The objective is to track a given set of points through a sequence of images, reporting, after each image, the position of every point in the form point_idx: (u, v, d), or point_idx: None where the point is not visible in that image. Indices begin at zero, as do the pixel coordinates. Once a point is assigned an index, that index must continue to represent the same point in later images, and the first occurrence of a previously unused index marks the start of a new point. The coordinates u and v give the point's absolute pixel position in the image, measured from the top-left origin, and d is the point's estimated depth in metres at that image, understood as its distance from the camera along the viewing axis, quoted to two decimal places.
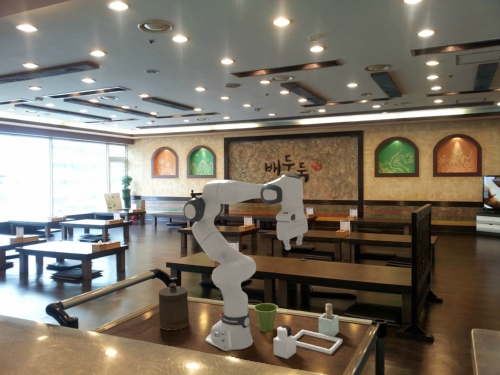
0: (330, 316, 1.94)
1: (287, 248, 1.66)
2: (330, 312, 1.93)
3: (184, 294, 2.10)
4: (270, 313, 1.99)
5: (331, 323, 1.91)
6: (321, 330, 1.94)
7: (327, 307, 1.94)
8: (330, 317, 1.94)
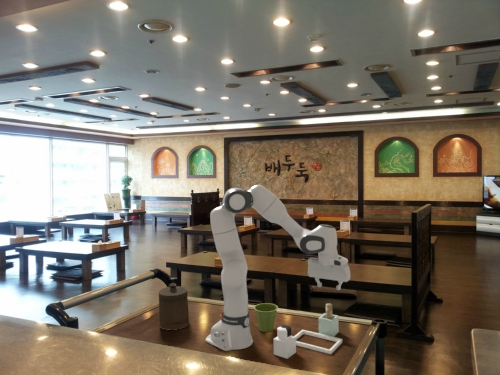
0: (330, 316, 1.94)
1: (340, 288, 1.91)
2: (330, 312, 1.93)
3: (184, 294, 2.10)
4: (270, 313, 1.99)
5: (331, 323, 1.91)
6: (321, 330, 1.94)
7: (327, 307, 1.94)
8: (330, 317, 1.94)
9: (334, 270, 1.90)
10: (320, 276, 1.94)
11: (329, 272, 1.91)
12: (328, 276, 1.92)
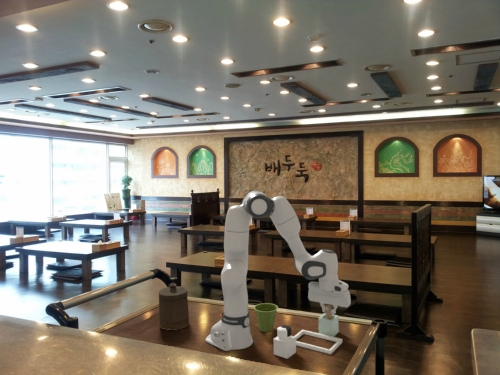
0: (330, 316, 1.94)
1: (335, 312, 1.93)
2: (330, 312, 1.94)
3: (184, 294, 2.10)
4: (270, 313, 1.99)
5: (331, 323, 1.91)
6: (321, 330, 1.94)
7: (327, 307, 1.94)
8: (330, 317, 1.94)
9: (334, 295, 1.91)
10: (320, 301, 1.95)
11: (329, 297, 1.92)
12: (328, 301, 1.92)
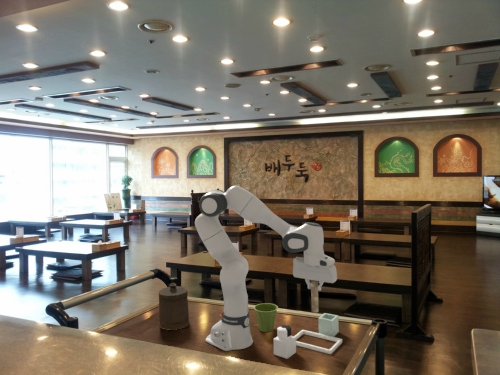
0: (315, 293, 1.83)
1: (320, 289, 1.83)
2: (315, 289, 1.83)
3: (184, 294, 2.10)
4: (270, 313, 1.99)
5: (331, 323, 1.91)
6: (321, 330, 1.94)
7: (312, 283, 1.83)
8: (315, 294, 1.83)
9: (320, 271, 1.81)
10: (305, 277, 1.85)
11: (314, 273, 1.82)
12: (314, 277, 1.82)
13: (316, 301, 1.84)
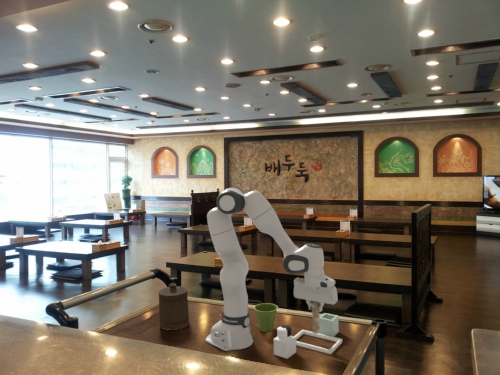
0: (316, 314, 1.84)
1: (321, 309, 1.84)
2: (316, 310, 1.84)
3: (184, 294, 2.10)
4: (270, 313, 1.99)
5: (331, 323, 1.91)
6: (321, 330, 1.94)
7: (313, 304, 1.84)
8: (316, 315, 1.84)
9: (321, 292, 1.81)
10: (306, 298, 1.85)
11: (315, 294, 1.83)
12: (314, 298, 1.83)
13: (317, 322, 1.84)
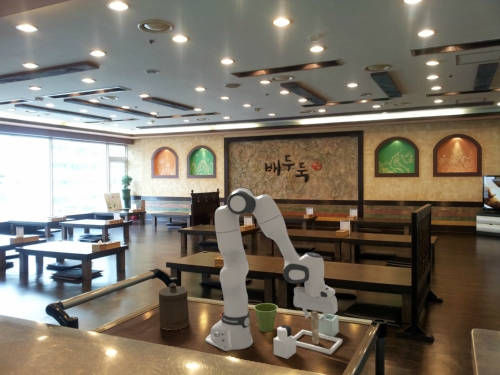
0: (316, 325, 1.85)
1: (324, 319, 1.83)
2: (315, 321, 1.85)
3: (184, 294, 2.10)
4: (270, 313, 1.99)
5: (331, 323, 1.91)
6: (321, 330, 1.94)
7: (312, 316, 1.85)
8: (316, 326, 1.85)
9: (320, 301, 1.82)
10: (306, 307, 1.86)
11: (315, 303, 1.83)
12: (314, 307, 1.83)
13: (316, 333, 1.85)
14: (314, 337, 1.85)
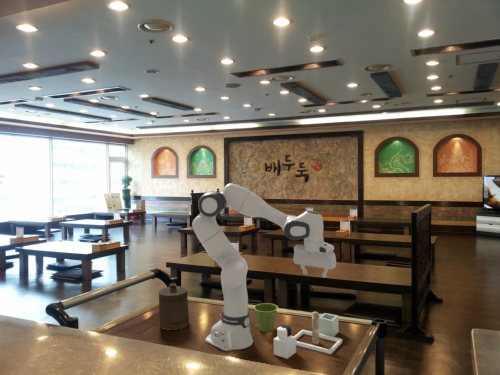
0: (316, 325, 1.85)
1: (325, 276, 1.87)
2: (316, 321, 1.85)
3: (184, 294, 2.10)
4: (270, 313, 1.99)
5: (331, 323, 1.91)
6: (321, 330, 1.94)
7: (313, 315, 1.85)
8: (316, 326, 1.85)
9: (319, 257, 1.86)
10: (305, 263, 1.90)
11: (314, 259, 1.87)
12: (313, 263, 1.88)
13: (317, 333, 1.85)
14: (314, 337, 1.85)
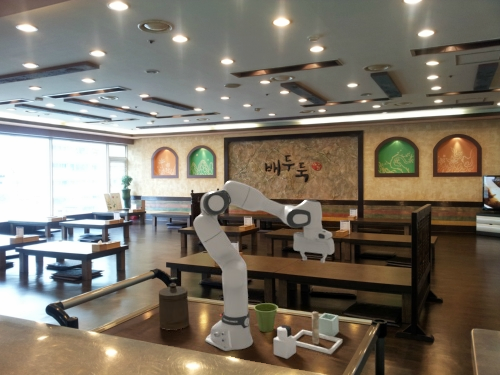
0: (316, 325, 1.85)
1: (324, 261, 1.96)
2: (316, 321, 1.85)
3: (184, 294, 2.10)
4: (270, 313, 1.99)
5: (331, 323, 1.91)
6: (321, 330, 1.94)
7: (313, 315, 1.85)
8: (316, 326, 1.85)
9: (318, 243, 1.95)
10: (305, 250, 1.99)
11: (313, 245, 1.97)
12: (313, 249, 1.97)
13: (317, 333, 1.85)
14: (314, 337, 1.85)
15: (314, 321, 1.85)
